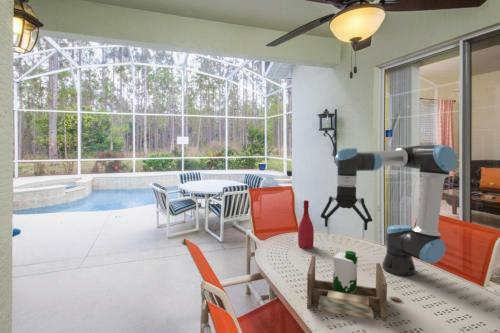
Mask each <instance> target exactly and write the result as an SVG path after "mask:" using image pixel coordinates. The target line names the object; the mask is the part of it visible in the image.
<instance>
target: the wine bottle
mask: <svg viewBox="0 0 500 333" xmlns="http://www.w3.org/2000/svg"><path fill="white" fill-rule="evenodd" d="M309 202H310V201H309V200H308V199H305V200H303V214H302V217H301V219H300V221H299V224H298V226H297V227H298V229H297V243H298V244H297V245H298V247H300V248H301V249H306V250H310V249H313V247H314V240H315V238H314V237H315V230H314V224H313V222H312V220H311V217H310V214H309V207H310V206H309V205H310V204H309Z"/></svg>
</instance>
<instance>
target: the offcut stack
mask: <svg viewBox="0 0 500 333" xmlns="http://www.w3.org/2000/svg"><path fill="white" fill-rule="evenodd" d="M317 302H318V301H317ZM317 304H318V305H317V310H318V311H322V312H327V313H334V314H339V315H340V314H341V315H346V316H353V317H359V318H365V319H371V320H374V310H372V307H369V299H368V297H363V296H357V295H351V294H345V293H339V292H333V290H331V291H328V295H327V296H321V295H320V299H319V302H318V303H317Z"/></svg>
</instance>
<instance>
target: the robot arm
mask: <svg viewBox="0 0 500 333" xmlns="http://www.w3.org/2000/svg"><path fill="white" fill-rule="evenodd" d="M457 155H458V154H457V153H456V151H455V150H454V148H452V147H451V146H449V145H443V144H435V145H434V144H431V145H430V144H429V145H424V144H423V145H422V144H421V145H420V144H419V145H412V146H406V147H405V146H404V147H398V148H396V149H394V150H389V149H388V150H375V151H372V150H370V151H358V148H354V147H351V148H350V147H346V148H345V147H344V148H339V149H338V151H337V154H336V155H335V157H334V164H335V166H336V167H337V174H336V178H337V179H336V184H337V186H336V196H332V195H330V196H329V197H328V201H327V202H326V205H325V206H324V209H322V213H321V214H320V218H321V219H324V227H325V228H327V232H326V233H327V236H330V229H331V228H330V223H331V221H330V220H331V219H330V217H331V216H332V215H333V214H334V213H335V212H336V211H337V210H338V209H339V208H342V209H353V211H355V213H356V214H357V215H358V216H359V217H360V218H361V220H362V221H361V239H362V240H364V239H365V231H368V223H370V222H373V218H372V216H371V213H370V212H369V210H368V208H367V206H366V204H365V203H366V202H365V198H364V197H359V198H357V187H356V185H357V177H358V175H357V174H358V172H363V171H364V172H365V171H366V172H367V171H368V172H369V171H371V172H373V171H378V170H380V169H381V168H382V167H390V166H395V167H398V168H409V169H416V170H417V169H418V170H419V171H418V172H419V174H420V175H421V177H422V179H421V185H420V192H419V193H420V194H419V198H418V199H419V200H418V208H417V216H416V222H415V223H416V224H415V226H414V227H413V226H411V225H406V224H405V225H404V224H395V225H393V224H392V225H389V226H388V227H387V231H386V253H385V256H384V258H383V260H382V265H381V268H382V270H384V271H385V272H387V273H390V274H393V275H395V276H400V277H401V276H403V277H411V276H414V275H415V274H416V265H415V263H414V259H413V258H415V259H418V260H420V261H422V262H425V263H428V264H436V263H437V262H440V260H442V258H443V257H444V255H445V253H446V249H447V248H446V247H447V246H446V243H445V242H444V241H443V240H442V239H441V237H442V235H441V233H440V232H439V230H438V229H439V222H440V221H439V220H440V213H441V207H442V199H443V192H444V184H445V183H444V182H445V180H446V178H448V177H449V176H450V172H452V171H454V170H455V169H456V167H457V165H458V156H457ZM334 202H336V204H335V206H334V207H333V208H331V210H330V211H329V212H328V213H327V211H328V209H329V208H330V206H331V204H332V203H334ZM357 203H359V204H361V207H362V208H363V211H364V213H365V215H366V216H365V215H364V214H363V212H361V210H360V209H359V208H358V207H357V205H356V204H357ZM326 213H327V214H326Z"/></svg>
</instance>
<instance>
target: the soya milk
mask: <svg viewBox="0 0 500 333" xmlns="http://www.w3.org/2000/svg"><path fill="white" fill-rule="evenodd" d="M332 259H333V267H332V268H333V272H332V274H333V278H332V282H333V289H332V291H338V292H345V293H351V294H357V293H356V288H357V285H358V284H357V282H358V279H357V277H358V259H359V256H358V255H357V253H356V251H352V250H346V251H345V252H341V251H339V252H338V253H336V254H335V255H333V257H332Z"/></svg>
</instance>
